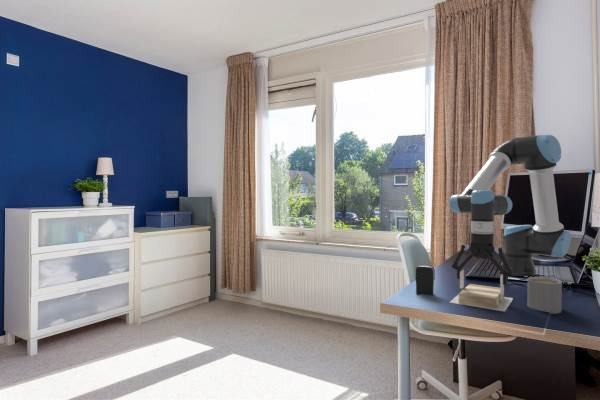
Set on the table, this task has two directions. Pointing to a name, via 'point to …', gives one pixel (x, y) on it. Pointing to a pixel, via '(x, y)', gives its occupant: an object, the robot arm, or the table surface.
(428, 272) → the battery
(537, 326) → the table surface
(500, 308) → the grey mat
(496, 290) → the board
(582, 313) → the table surface
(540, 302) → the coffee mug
